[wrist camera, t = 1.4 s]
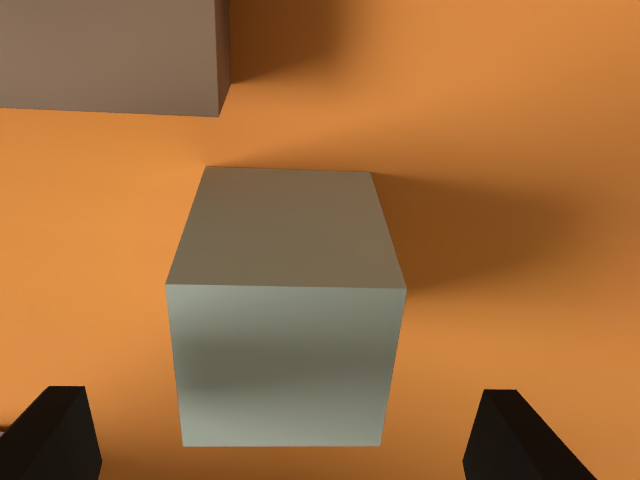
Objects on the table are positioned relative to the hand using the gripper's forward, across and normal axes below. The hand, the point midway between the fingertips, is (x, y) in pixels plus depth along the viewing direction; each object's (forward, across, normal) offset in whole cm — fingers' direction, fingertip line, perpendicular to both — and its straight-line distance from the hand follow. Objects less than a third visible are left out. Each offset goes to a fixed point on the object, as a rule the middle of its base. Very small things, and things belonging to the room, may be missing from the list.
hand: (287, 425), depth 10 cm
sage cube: (+7, 0, 0) cm, 7 cm away
